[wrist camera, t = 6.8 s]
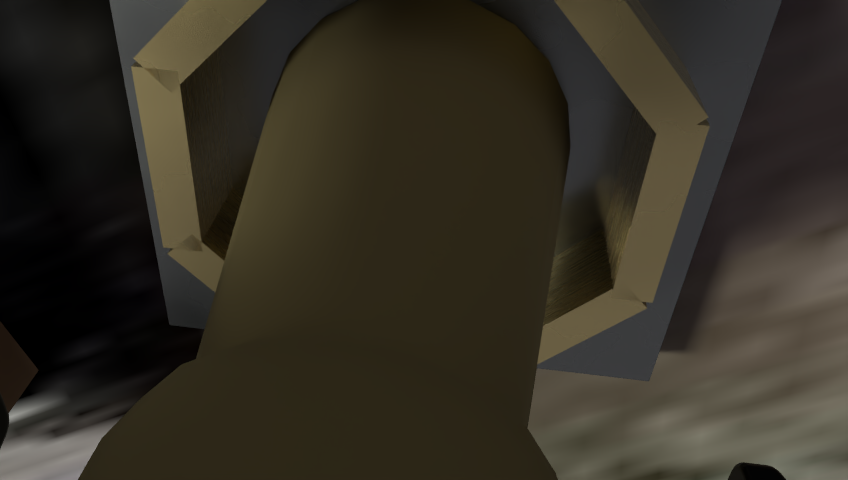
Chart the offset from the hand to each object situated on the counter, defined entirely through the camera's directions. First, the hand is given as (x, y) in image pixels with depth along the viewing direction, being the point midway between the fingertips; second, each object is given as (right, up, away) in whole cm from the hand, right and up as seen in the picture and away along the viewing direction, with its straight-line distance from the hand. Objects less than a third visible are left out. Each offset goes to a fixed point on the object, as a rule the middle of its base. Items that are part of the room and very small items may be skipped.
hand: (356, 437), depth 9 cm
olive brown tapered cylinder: (+1, +5, +6) cm, 8 cm away
